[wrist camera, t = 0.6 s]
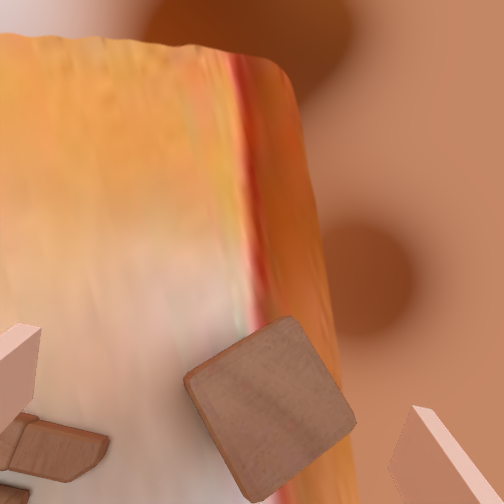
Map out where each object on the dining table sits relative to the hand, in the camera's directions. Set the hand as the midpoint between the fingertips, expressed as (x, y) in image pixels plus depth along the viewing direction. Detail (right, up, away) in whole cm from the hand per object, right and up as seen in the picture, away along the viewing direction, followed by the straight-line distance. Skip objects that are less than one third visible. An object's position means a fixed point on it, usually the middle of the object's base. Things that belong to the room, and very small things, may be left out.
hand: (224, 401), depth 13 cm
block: (-1, -12, +33) cm, 35 cm away
